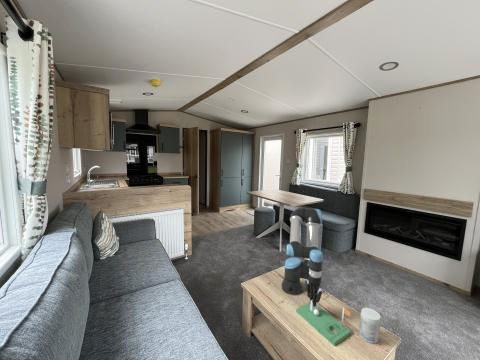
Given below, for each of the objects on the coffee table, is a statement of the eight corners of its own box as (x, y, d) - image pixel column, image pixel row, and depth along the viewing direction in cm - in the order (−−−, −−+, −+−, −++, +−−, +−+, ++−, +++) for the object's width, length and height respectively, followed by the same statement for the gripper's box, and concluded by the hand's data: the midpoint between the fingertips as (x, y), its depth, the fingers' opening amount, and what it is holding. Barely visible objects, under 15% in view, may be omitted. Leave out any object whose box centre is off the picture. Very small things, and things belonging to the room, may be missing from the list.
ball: (311, 310, 134) (315, 310, 131) (315, 308, 136) (318, 308, 133) (313, 316, 133) (317, 316, 130) (317, 314, 134) (321, 314, 132)
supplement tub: (365, 327, 127) (368, 305, 125) (382, 340, 118) (385, 316, 116) (355, 333, 122) (357, 310, 120) (371, 346, 114) (374, 322, 112)
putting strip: (296, 311, 138) (297, 292, 136) (311, 303, 145) (313, 285, 143) (334, 345, 114) (336, 322, 112) (350, 334, 121) (352, 312, 120)
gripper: (302, 271, 136) (300, 305, 139) (319, 282, 125) (316, 318, 127) (310, 268, 139) (308, 301, 142) (327, 278, 128) (324, 314, 131)
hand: (312, 309), depth 135 cm, fingers closed
